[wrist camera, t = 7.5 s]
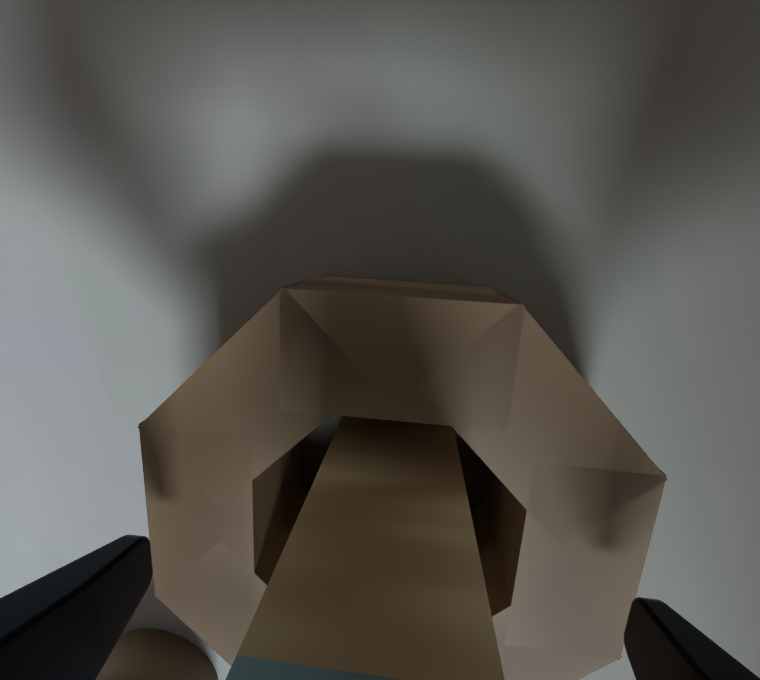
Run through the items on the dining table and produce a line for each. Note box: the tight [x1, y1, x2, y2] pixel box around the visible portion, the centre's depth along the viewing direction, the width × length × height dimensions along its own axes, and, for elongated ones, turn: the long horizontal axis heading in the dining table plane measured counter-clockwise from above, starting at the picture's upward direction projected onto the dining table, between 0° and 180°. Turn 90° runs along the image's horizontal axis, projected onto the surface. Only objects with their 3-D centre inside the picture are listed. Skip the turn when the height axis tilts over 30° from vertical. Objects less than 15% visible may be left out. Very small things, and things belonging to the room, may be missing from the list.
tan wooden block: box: [226, 416, 505, 680], centre depth 8 cm, size 3×3×8 cm
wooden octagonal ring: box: [138, 275, 667, 680], centre depth 10 cm, size 10×10×4 cm
